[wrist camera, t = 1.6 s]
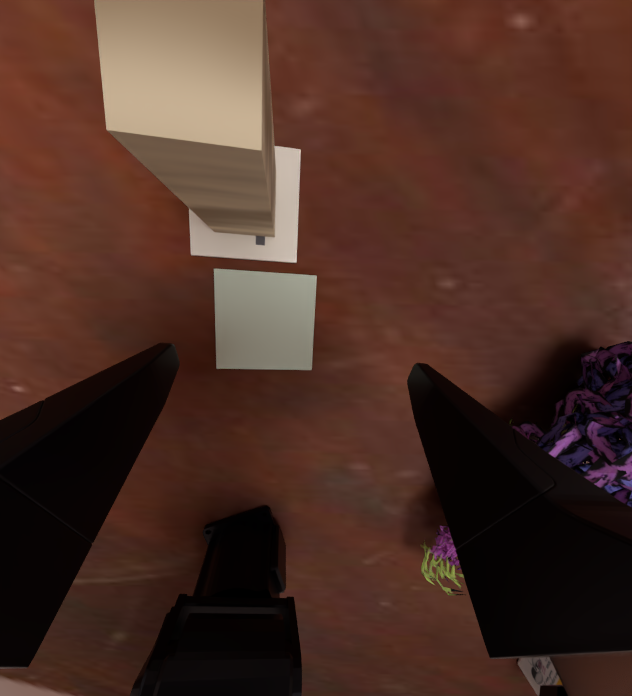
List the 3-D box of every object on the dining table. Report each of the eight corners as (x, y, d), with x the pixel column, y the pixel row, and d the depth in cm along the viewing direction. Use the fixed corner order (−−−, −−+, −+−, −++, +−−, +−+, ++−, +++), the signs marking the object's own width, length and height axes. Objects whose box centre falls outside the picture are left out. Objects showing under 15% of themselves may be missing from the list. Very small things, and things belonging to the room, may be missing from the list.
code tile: (188, 137, 17) (185, 133, 17) (300, 152, 19) (300, 149, 18) (192, 255, 19) (190, 254, 19) (296, 263, 20) (296, 262, 20)
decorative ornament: (761, 439, 21) (504, 675, 22) (596, 379, 30) (420, 546, 31) (826, 341, 14) (453, 686, 15) (589, 303, 23) (365, 518, 24)
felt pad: (311, 368, 22) (311, 370, 21) (218, 366, 21) (216, 368, 20) (316, 276, 20) (316, 275, 20) (215, 269, 19) (213, 268, 19)
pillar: (274, 237, 19) (261, 150, 8) (214, 232, 18) (106, 129, 7) (276, 172, 18) (263, -28, 7) (212, 164, 18) (88, -68, 6)
